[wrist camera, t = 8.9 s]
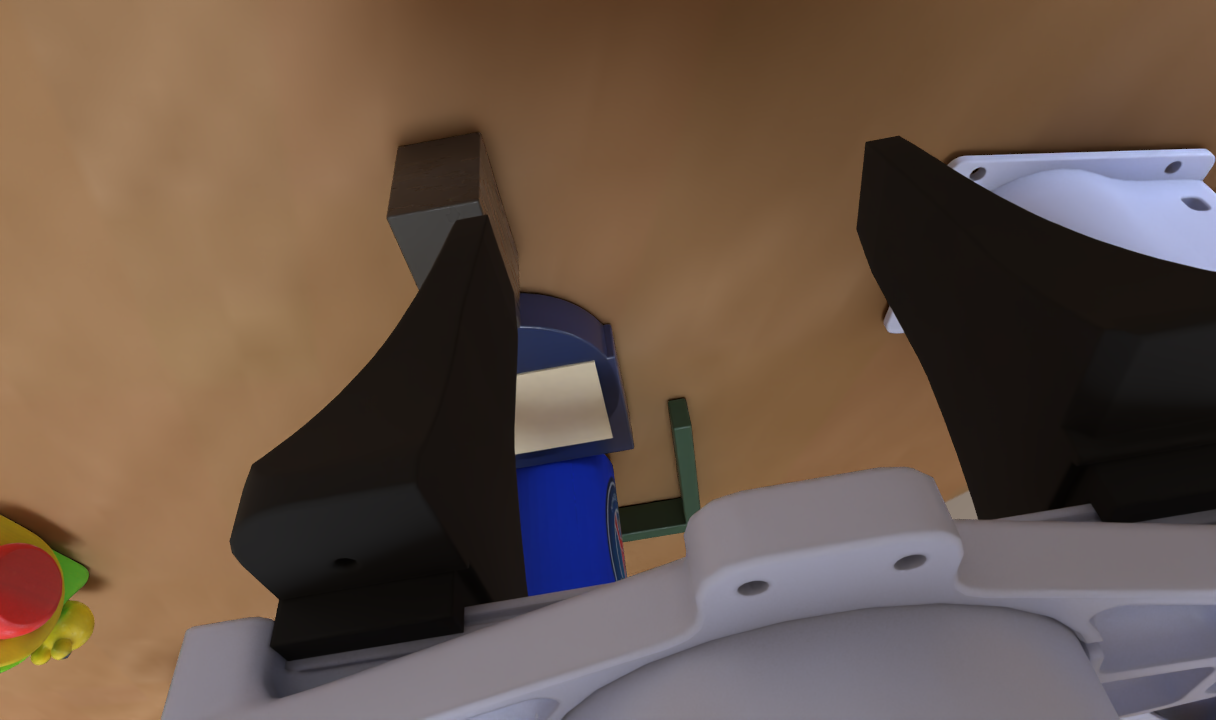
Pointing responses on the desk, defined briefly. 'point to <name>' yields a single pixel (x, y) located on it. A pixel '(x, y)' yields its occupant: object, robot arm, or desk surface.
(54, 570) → the toy measuring tape
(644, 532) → the green u-shaped bracket
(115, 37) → the desk surface
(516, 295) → the blue stamp
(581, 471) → the beverage can
